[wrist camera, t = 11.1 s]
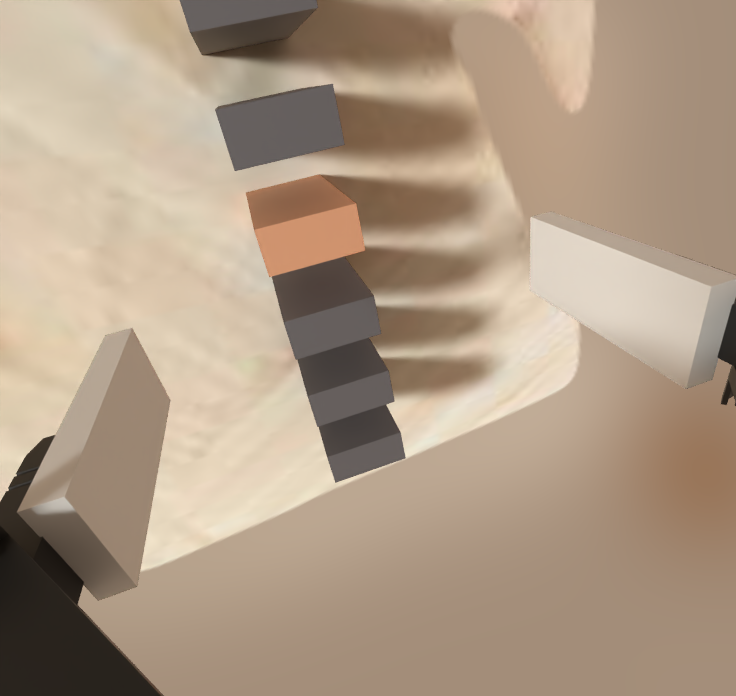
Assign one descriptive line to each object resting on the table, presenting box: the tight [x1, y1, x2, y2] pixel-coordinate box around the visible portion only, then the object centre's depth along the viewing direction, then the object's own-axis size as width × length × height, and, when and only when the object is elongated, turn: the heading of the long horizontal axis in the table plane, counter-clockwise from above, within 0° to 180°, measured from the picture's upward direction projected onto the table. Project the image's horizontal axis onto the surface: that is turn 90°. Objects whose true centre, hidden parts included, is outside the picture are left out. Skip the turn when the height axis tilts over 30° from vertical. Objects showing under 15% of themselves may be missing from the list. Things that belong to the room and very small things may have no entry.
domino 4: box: [272, 257, 381, 360], centre depth 29 cm, size 2×5×10 cm, turn 100°
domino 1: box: [180, 0, 318, 55], centre depth 21 cm, size 2×5×10 cm, turn 100°
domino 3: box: [246, 175, 365, 277], centre depth 26 cm, size 2×5×10 cm, turn 101°
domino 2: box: [215, 84, 345, 171], centre depth 23 cm, size 2×5×10 cm, turn 100°
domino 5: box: [298, 338, 394, 427], centre depth 31 cm, size 2×5×10 cm, turn 100°
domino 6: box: [319, 405, 405, 483], centre depth 34 cm, size 2×5×10 cm, turn 100°
